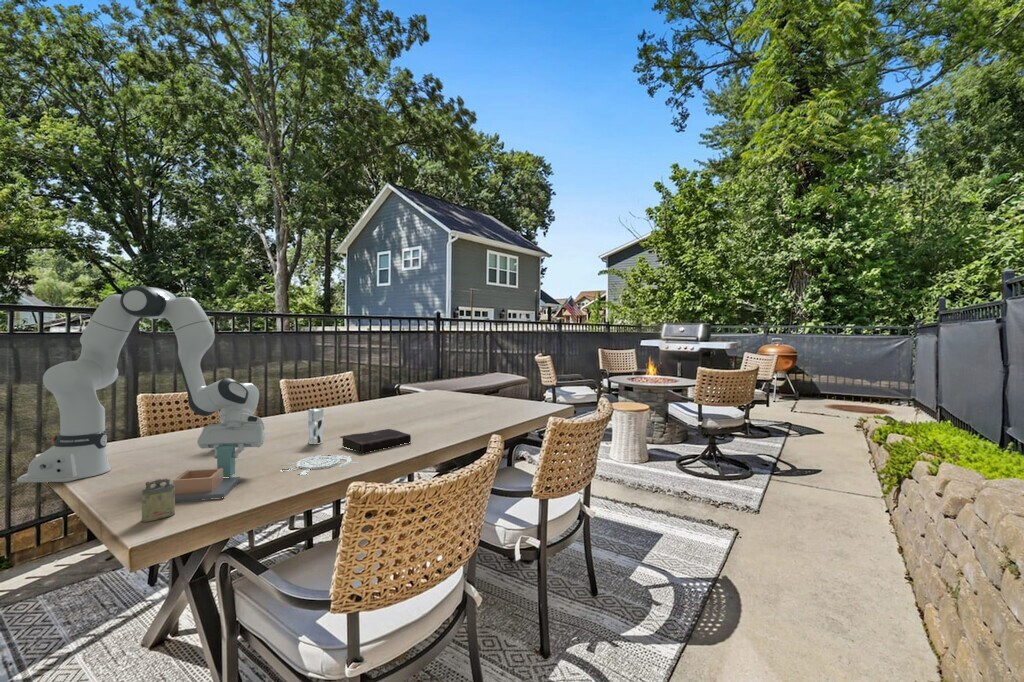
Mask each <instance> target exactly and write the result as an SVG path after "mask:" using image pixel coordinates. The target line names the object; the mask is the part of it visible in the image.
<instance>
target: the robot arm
mask: <svg viewBox="0 0 1024 682" xmlns="http://www.w3.org/2000/svg"><path fill="white" fill-rule="evenodd" d="M141 318H143V319H150V320H156V319H157V320H167V321H168V322H169V324H170V326H171V327H172V330H173V332H174V334H175V337H176V341H177V347H178V350H177V353H176V356H177V362H178V365H179V369H180V372H181V376H182V379H183V382H184V385H185V389H186V392H187V393H186V394H187V402H188V406H189V409H190V410H191V411H192V412H193V413H195V415H196V414H197V415H198V416H201V417H207V416H211V415H213V414H214V413H217V412H218V411H220V410H221V409H222V408H225V409H227V413H226V416H225V418H224V421H223V423H220V422H219V423H209V424H206V425H204V426H203V428H202V431H201V433H200V435H199V437H198V439H197V441H196V443H197V445H198V447H199V448H201V449H203V450H204V449H213V451H214V454H213V459H215V460H217V449H218V448H220V447H221V446H235V451H233V452H232V458H235V459H237V458H238V457H239V454H241V453H242V452H243V451H244V450H245V448H260V447H261V446H263V445H264V442H265V435H266V434H265V428H266V427H265V424H264V421H263V419H262V418H261V417H259V416H256V415H254V413H255V412H256V410H257V407H258V404H259V400H260V399H259V398H260V391H259V388H258V387H257V386H256V385H255V384H253V383H249V382H242V383H241V382H239V381H237V380H235V379H233V378H230V377H225V378H222V379H220V380H217V381H216V382H215V381H214V382H213V383H211V384H208V385H207V384H206V381H205V377H204V375H203V371H202V368H201V362H202V359H203V357H204V355H205V354H206V352H208V350H209V349H210V348H211V346H212V345H213V343H214V341H215V339H216V335H215V331H214V328H213V325H212V324H211V321H210V319H209V317H208V315H207V314H206V312H205V310H204V309H203V307H202V305H201V304H200V303H199V302H198V301H197V300H196V299H195V298H193V297H190V296H180V297H179V295H177V294H176V293H174V292H172V291H170V290H168V289H167V290H166V289H163V288H159V287H154V286H153V287H150V286H145V285H136V286H131V287H129V288H127V289H125V290H124V291H123V292H122V293H121V294H119V293H114V294H110V295H108V296H106V297H105V298H104V299H103V301H102V302H101V303H100V304H99V305H98V307H97V308H96V310H95V311H94V313H92V315H91V318H90V319H89V321H88V323H87V324H86V325H85V326H86V327H85V328H84V330H83V332H82V334H81V336H80V338H79V342H80V344H81V351H80V355H79V357H78V358H77V360H69V361H63V362H60V363H57V364H56V365H53V366H51V367H49V368H48V369H46V371H45V372H44V374H43V376H42V382H43V386H44V387H45V388H46V390H48V391H49V392H51V394H52V395H53V396H54V399H55V400H56V401H55V402H56V403H57V406H58V410H59V425H60V427H59V428H60V429H59V430H60V433H59V434H57V435H56V436H54V437H52V438H51V437H50V441H49V442H50V443H51V442H53V445H52V446H51V447H49V448H48V449H46V450H45V451H44V452H42V453H40V454H39V455H37V456H35V457H34V458H33V459H32V460H31V461H30V463H29V465H28V469H27V472H26V473H25V474H22V475H20V476H19V477H17V480H16V482H17V483H19V484H20V483H22V484H23V483H66V482H71V481H72V482H73V481H77V480H80V479H86V478H90V477H94V476H99V475H102V474H106V473H108V472H109V471H111V470H112V468H111V465H110V463H109V459H108V454H107V443H108V442H107V441H108V436H107V434H108V433H107V429H106V408H105V407H104V405H102V404H101V402H100V400H99V398H98V396H97V390H102V389H104V388H106V387H108V386H110V385H112V384H113V383H115V382H116V381H117V379H118V377H119V369H118V367H117V366H118V362H119V356H120V354H121V351H122V348H123V346H124V344H125V343H126V341H127V339H128V337H129V335H130V333H131V331H132V329H133V327H134V325H135V323H136V322H137V321H138V320H139V319H141ZM236 448H237V449H236Z"/></svg>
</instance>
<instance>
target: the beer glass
mask: <svg viewBox="0 0 1024 682" xmlns="http://www.w3.org/2000/svg"><path fill="white" fill-rule="evenodd" d="M324 422H325V415H324V409H323V408H310V409H307V415H306V425H307V430H308V441H307V444H308V443H309V444H317V445H319V444H318V443H321V444H323V443H322V442H323V435H322V434H323V429H324ZM309 444H308V445H309Z"/></svg>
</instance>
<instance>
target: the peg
mask: <svg viewBox="0 0 1024 682" xmlns="http://www.w3.org/2000/svg"><path fill="white" fill-rule="evenodd" d="M233 451H236V448H235V446H221V447H220V448H218V449H217V459H216V466H217V468H216V469H220V468H223V477H231V476H232V475H233V474H234V475H236V458H232V452H233ZM234 475H233V476H234ZM233 476H232V477H233Z"/></svg>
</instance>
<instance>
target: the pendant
mask: <svg viewBox="0 0 1024 682" xmlns="http://www.w3.org/2000/svg"><path fill="white" fill-rule="evenodd" d="M321 455H322V454H317V455H314V456H315V457H313V456H308V457H305V458H302V459H299V460H298V461H296V462H295V463H288V464H294V465H295V466H294V465H291V466H289V467H288V468H291V467H293V468H295V467H297V468H296V469H293V468H291V470H290V469H289V470H290V471H293V470H296V471H298V470H297V469H298V468H299V469H301V468H302V471H301V472H300V473H301V474H300V475H299V476H308V475H310V474H307V473H306V472H309V471H310V469H311V470H312V469H313V470H322V469H321V468H324V469H330V468H333V467H335V466H337V465H339V464H340V465H339V466H338V467H339V468H344V467H347V466H349V465H350V464H349V463H352V458H351V457H352V455H342V454H330V455H331V456H321ZM319 458H321V459H319ZM322 458H323V459H322ZM326 458H329V459H326ZM341 460H346V462H341ZM304 463H305V464H304ZM359 463H360V462H354V464H359ZM332 466H333V467H332ZM325 467H326V468H325ZM292 469H293V470H292ZM289 470H286V471H288V472H290V471H289ZM283 471H284V470H283ZM283 471H282V469H280V470H279V472H281V473H284V472H283ZM306 474H307V475H306Z"/></svg>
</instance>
